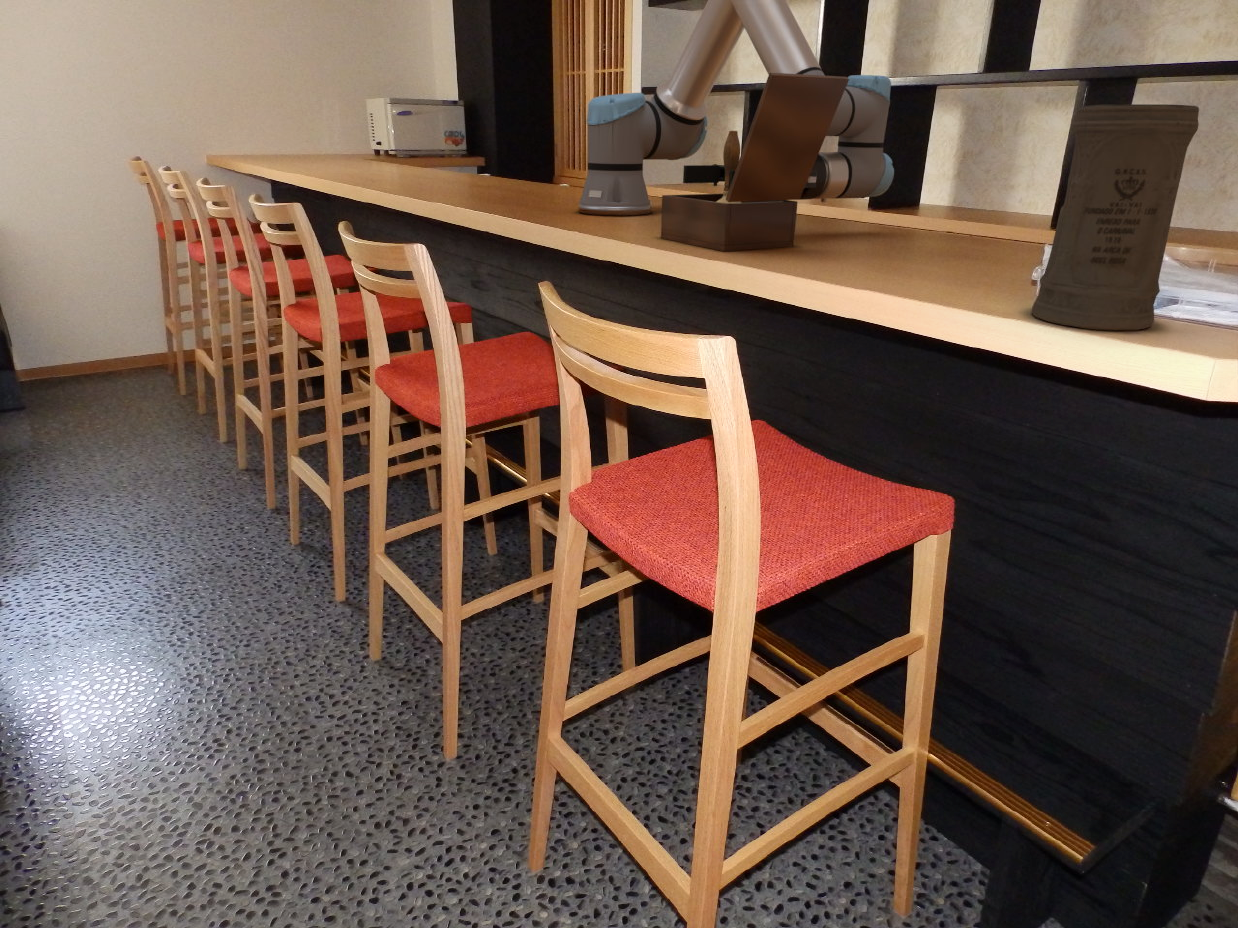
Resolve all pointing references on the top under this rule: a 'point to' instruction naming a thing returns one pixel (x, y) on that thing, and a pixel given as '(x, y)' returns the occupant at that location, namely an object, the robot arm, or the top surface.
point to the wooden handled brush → (730, 160)
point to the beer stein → (1116, 216)
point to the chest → (728, 222)
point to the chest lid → (786, 136)
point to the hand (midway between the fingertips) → (706, 177)
